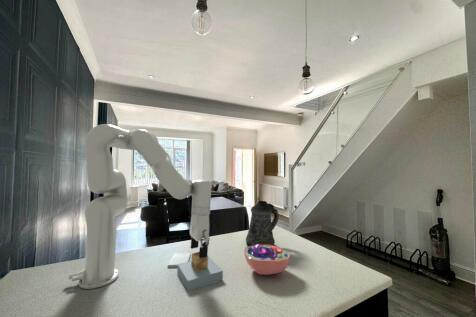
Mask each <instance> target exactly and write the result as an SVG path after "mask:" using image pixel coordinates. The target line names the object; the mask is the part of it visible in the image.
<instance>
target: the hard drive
mask: <svg viewBox="0 0 476 317" xmlns="http://www.w3.org/2000/svg"><path fill="white" fill-rule="evenodd" d="M191 256H192V253H191V252H175V253H173V255H172V257H171V259H170V261H169V263H168V264H167V269H171V268H177V266H178V264H180V263H184V262H188V261H190V258H191Z"/></svg>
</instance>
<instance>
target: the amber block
mask: <svg viewBox="0 0 476 317" xmlns="http://www.w3.org/2000/svg"><path fill="white" fill-rule="evenodd" d="M208 257H209V254H207V257H204V258H199V251H197V252H193V253H191V261H192V262H191V266H192V268H193V269H194V270H195V271H196V272H197V271H200V270H203V269H207V268H208Z"/></svg>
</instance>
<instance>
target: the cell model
mask: <svg viewBox="0 0 476 317" xmlns="http://www.w3.org/2000/svg"><path fill="white" fill-rule="evenodd" d="M243 255H244V257H245V260H246V263H247V265H248V266H249V267H250V268H251V270H253V271H254V272H255V273H256V274H258V275H262V276H267V275H274V274H280V273H283V272H284V271H285V270H286V269H287V268H288V266H289V265H288V264H289V261H290V257H291V253H289V252H288V251H287V250H285V249H283V248H281V247H279V246H276V245H274V246H272V245H260V244H257V245H253V246H248V247H247V246H246V247H245V248H244V249H243Z"/></svg>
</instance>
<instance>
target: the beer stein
mask: <svg viewBox="0 0 476 317" xmlns="http://www.w3.org/2000/svg"><path fill="white" fill-rule="evenodd" d="M250 212H251V216H250V221H249V227H248V231H247V234H246V237H245V243H246V247H248V246H253V245H257V244H260V245H272V246H275V237H274V233H273V230H274V229H275V227H276V226H277V224H278V221H279V217H280V215H279V214H280V213H279V212H278V209H277V208H275V206H274V205H273V204H272V203H268V202H267V200H266V201H265V200H258V201H257V203H256V204H254V205H253V206H252V207H251V208H250ZM272 214H273V218H272V217H271V215H272Z"/></svg>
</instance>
